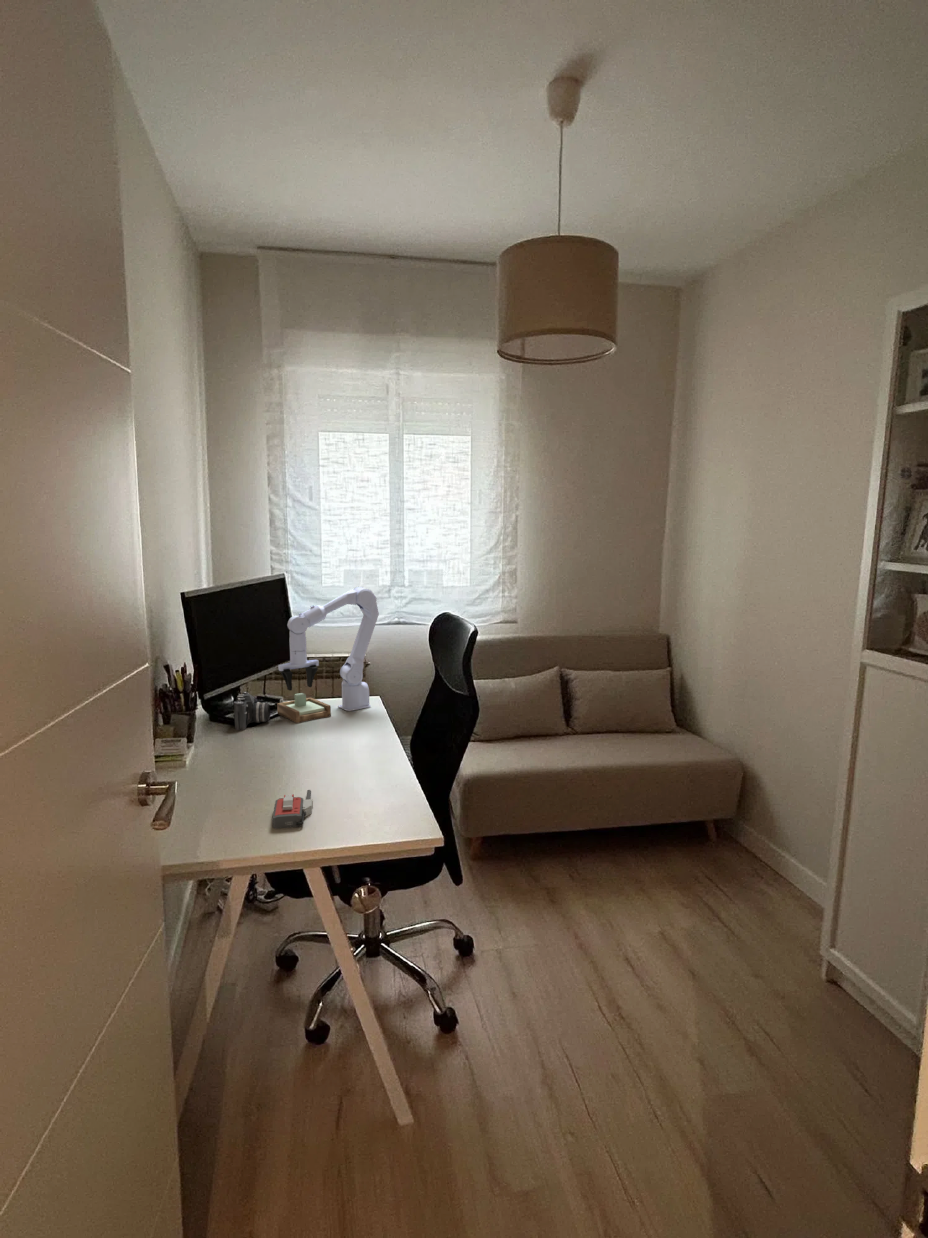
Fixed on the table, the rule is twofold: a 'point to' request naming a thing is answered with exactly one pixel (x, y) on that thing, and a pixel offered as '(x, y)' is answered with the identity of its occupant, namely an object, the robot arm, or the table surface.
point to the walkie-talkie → (291, 811)
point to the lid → (305, 705)
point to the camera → (249, 711)
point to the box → (297, 718)
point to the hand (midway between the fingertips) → (299, 688)
